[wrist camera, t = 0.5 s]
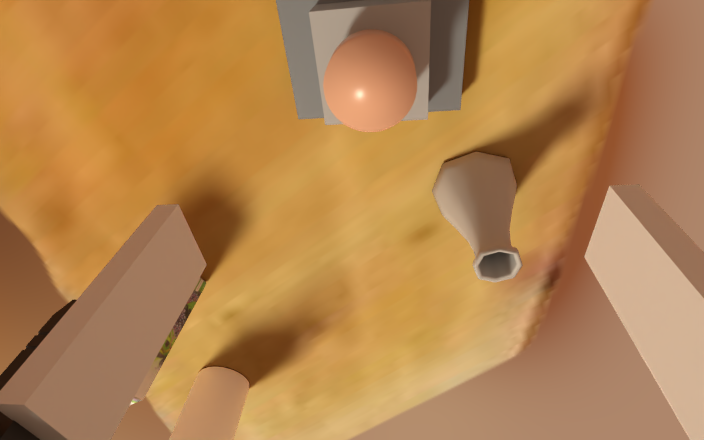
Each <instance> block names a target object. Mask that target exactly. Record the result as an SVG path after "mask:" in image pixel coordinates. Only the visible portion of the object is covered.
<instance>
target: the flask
mask: <svg viewBox="0 0 704 440" xmlns="http://www.w3.org/2000/svg"><path fill="white" fill-rule="evenodd" d="M516 189H517V184H516V180H515V176H514V173H513V169H512V166H511V162H510V158H505V157H500V156H495V155H491V154H486V153H481V152H473V153H471V154H468V155H465V156H462V157H460V158H457V159H454V160H451V161H449V162H446V163H443V164H442V166H441V169H440V171H439V174H438V177H437V179H436V182H435V184H434V187H433V190H432V192H433V195H434V197H435V199H436V202H437V204H438V206H439V209H440V211H441V213H442V215H443V216H444V217H445V218H446V219H447V220H448V221H449V222H450V223H451V224H452V225H453V226H454V227H455V228H456V229H457V230H458V231H459V232H460V233H461V235H462V236H463V237H464V238H465V239H466V240H467V241H468V242H469V244H470V245H471V247H472V249H473V251H474V254H475V260H474V261H473V267H474V269H475V272H476V274H477V277H478V279H481V280H487V281H492V282H499V281H503V280H507V279H511V278H514V277H515V276H516V274H517V273H518V271H519V270H520V268H521V267H522V262H521V259H520V255H519V252H518V250H517V248H515V247H512V246H511V241H510V231H509V228H510V221H511V215H512V208H513V203H514V199H515V194H516Z"/></svg>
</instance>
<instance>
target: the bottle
mask: <svg viewBox="0 0 704 440" xmlns="http://www.w3.org/2000/svg"><path fill="white" fill-rule="evenodd" d="M248 390H249V382H248V380H247V379H246V378H245V377H244V376H243V375H242V374H240V373H238V372H236V371H234V370H232V369H228V368H224V367H207V368H204V369H202V370H201V371H200V372H199V373H198V375H197V377H196V379H195V381H194V384H193V386H192V388H191V390H190V393H189V395H188V397H187V400H186V402H185V404H184V407H183V409H182V411H181V414H180V416H179V418H178V420H177V423H176V425H175V427H174V430H173V432H172V434H171V437H170V439H169V440H233V439H234V436H235V432H236V429H237V426H238V423H239V420H240V416H241V413H242V410H243V407H244V403H245V400H246V397H247V394H248Z"/></svg>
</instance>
